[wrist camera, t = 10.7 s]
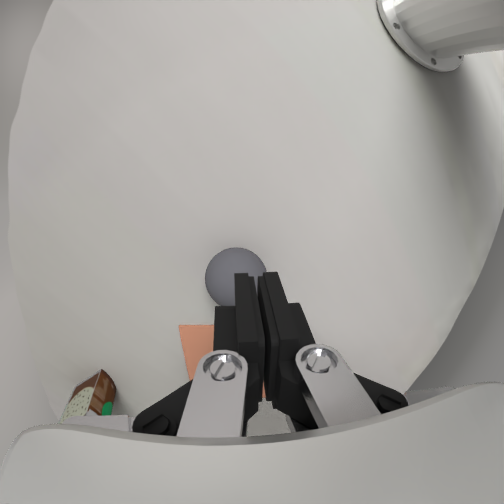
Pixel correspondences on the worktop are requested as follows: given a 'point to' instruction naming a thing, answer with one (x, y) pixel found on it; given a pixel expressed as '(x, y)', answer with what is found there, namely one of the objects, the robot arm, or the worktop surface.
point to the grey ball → (230, 273)
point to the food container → (91, 397)
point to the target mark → (197, 345)
